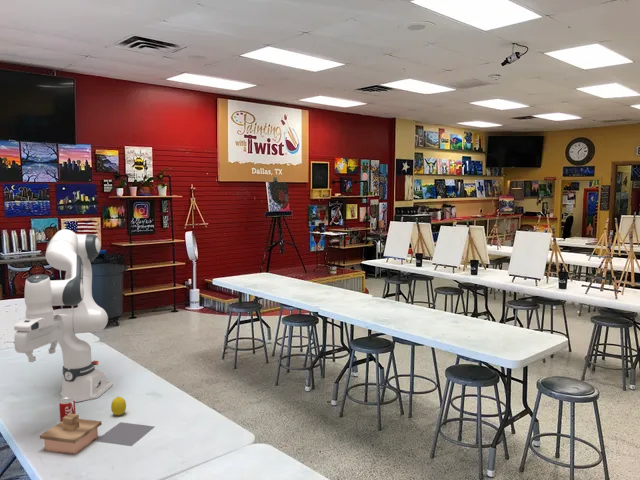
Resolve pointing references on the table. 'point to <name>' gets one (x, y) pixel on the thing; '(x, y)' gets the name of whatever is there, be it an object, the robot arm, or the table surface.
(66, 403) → the soda can
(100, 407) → the table surface
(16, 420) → the table surface
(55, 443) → the pink shallow box
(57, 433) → the lid
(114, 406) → the lemon
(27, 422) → the table surface
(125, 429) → the mat
